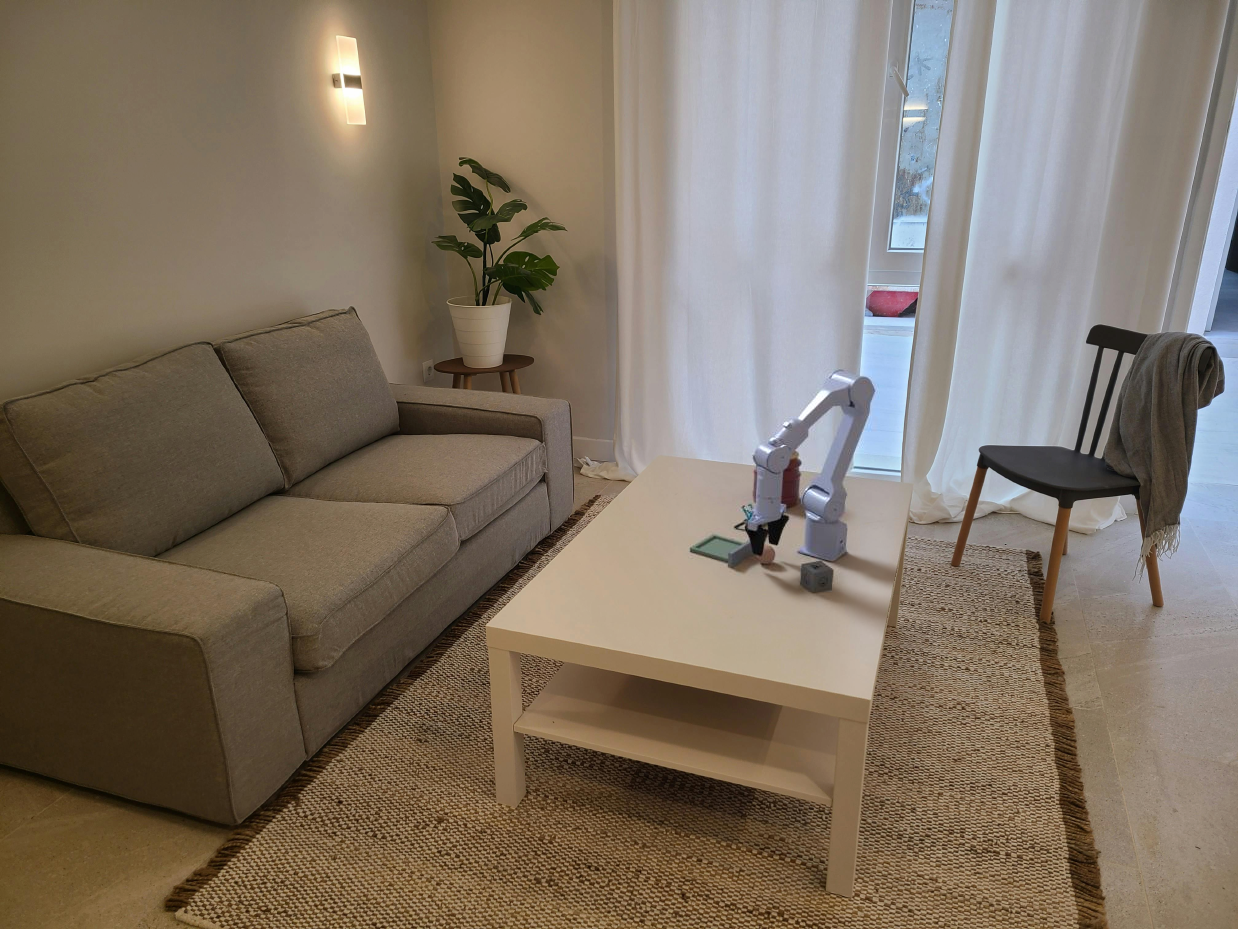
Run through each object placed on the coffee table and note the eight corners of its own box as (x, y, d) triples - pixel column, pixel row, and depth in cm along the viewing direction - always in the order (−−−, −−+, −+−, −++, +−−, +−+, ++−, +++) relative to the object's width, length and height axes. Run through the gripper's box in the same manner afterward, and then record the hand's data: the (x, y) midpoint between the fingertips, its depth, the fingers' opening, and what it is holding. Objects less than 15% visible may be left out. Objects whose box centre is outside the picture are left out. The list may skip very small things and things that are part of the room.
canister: (748, 506, 238) (751, 445, 232) (755, 491, 249) (758, 432, 244) (796, 511, 234) (800, 449, 228) (801, 495, 246) (805, 436, 240)
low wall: (761, 548, 211) (761, 535, 210) (731, 567, 201) (731, 553, 199) (757, 547, 212) (758, 534, 210) (727, 566, 201) (728, 552, 200)
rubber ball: (778, 562, 203) (779, 545, 202) (768, 569, 200) (769, 551, 198) (761, 557, 206) (762, 540, 204) (751, 563, 202) (752, 546, 201)
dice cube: (800, 584, 192) (801, 564, 191) (819, 580, 194) (820, 560, 193) (812, 593, 188) (813, 573, 186) (831, 590, 190) (833, 569, 188)
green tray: (749, 548, 211) (750, 544, 211) (727, 562, 203) (727, 558, 203) (713, 537, 217) (713, 534, 217) (689, 551, 209) (689, 547, 209)
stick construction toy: (758, 531, 216) (745, 503, 217) (734, 542, 219) (722, 514, 221) (774, 528, 226) (762, 501, 228) (752, 539, 229) (740, 512, 231)
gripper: (768, 483, 205) (765, 535, 209) (737, 499, 194) (734, 554, 199) (795, 489, 201) (791, 542, 205) (764, 506, 190) (761, 563, 194)
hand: (765, 549), depth 202 cm, fingers open, 7 cm apart
